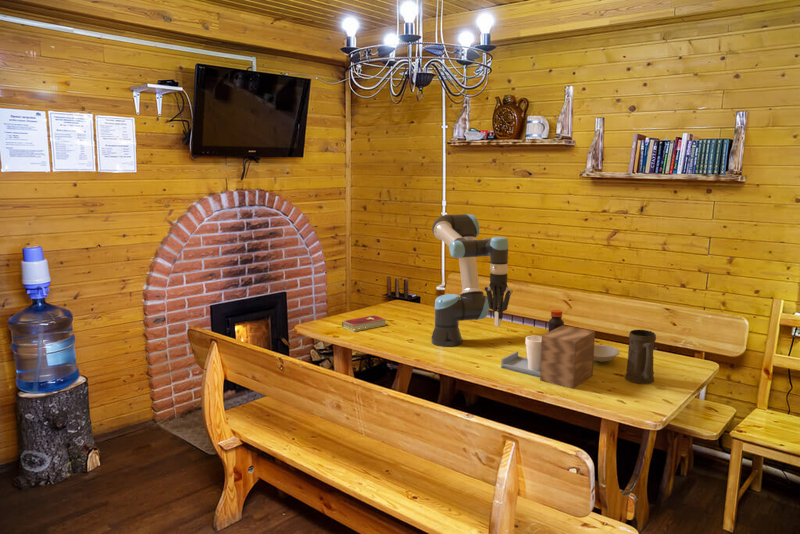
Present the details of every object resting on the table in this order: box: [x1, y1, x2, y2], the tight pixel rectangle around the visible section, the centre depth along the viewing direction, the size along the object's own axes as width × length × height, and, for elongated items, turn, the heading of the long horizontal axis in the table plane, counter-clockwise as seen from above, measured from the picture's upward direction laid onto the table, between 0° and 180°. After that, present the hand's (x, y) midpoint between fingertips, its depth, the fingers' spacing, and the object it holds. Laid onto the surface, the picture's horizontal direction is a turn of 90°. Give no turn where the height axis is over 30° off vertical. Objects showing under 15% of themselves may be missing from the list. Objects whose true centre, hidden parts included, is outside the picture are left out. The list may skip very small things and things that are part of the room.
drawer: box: [500, 351, 541, 378], centre depth 247 cm, size 20×13×4 cm, turn 49°
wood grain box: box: [539, 324, 596, 390], centre depth 235 cm, size 14×19×19 cm
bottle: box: [547, 309, 565, 333], centre depth 266 cm, size 7×7×20 cm
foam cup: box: [525, 335, 542, 371], centre depth 244 cm, size 10×9×13 cm
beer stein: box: [625, 329, 657, 385], centre depth 230 cm, size 15×11×20 cm
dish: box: [594, 344, 620, 363], centre depth 255 cm, size 18×14×5 cm
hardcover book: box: [341, 314, 387, 332], centre depth 315 cm, size 12×21×4 cm, turn 125°
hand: (497, 325), depth 255 cm, fingers closed
